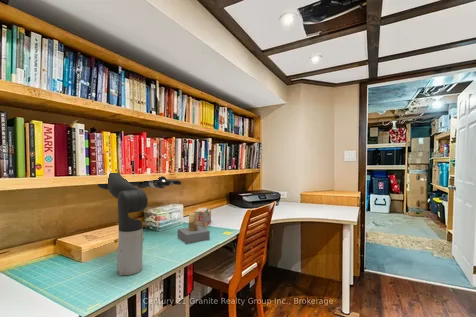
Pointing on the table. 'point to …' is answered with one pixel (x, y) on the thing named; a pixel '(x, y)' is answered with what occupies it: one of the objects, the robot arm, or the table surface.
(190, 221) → the cylinder
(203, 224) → the printed cardboard box
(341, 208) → the table surface
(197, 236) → the plinth
